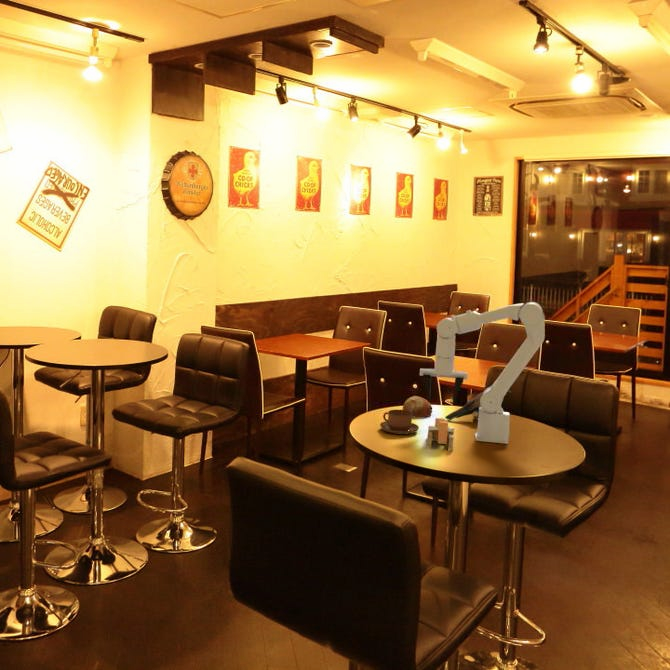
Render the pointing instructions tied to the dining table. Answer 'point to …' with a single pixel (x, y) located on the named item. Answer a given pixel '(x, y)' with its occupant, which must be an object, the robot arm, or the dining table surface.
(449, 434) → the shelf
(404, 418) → the cup and saucer
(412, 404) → the bread roll
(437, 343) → the robot arm
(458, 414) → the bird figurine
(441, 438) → the orange long block
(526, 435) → the dining table surface
